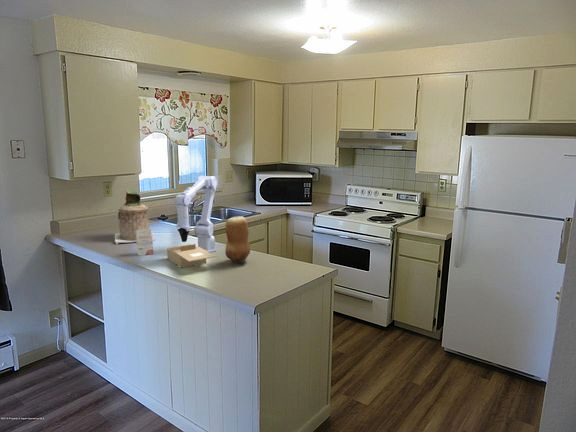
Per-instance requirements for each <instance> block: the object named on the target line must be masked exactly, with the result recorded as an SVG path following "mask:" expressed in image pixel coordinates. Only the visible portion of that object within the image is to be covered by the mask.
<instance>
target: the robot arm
mask: <svg viewBox="0 0 576 432" xmlns="http://www.w3.org/2000/svg"><path fill="white" fill-rule="evenodd" d="M217 185H218V179H217V177H216V176H215V175H213V176H210V175H199V176H198V177H197V179H196V181H195V183H194V184H193V185H192V186H187V187H186V189H185V190H184V191H183V192H181V194H177V195H176V196H175V198H174V204H175V207H176V211H177V223H176V225H175V227H176V228H177V231H178V234H179V236H180V239H181V242H182V243H186V242H187V241H188V236H189V233H190V232H191V231H192V228H191V226H190V225H191V224H190V220H189V219H190V217H189V206H190V204H191V201H192V199H194V197H196V195H197V191H199V190H202V191H203V192H204V198H203V202H202V203H203V204H202V210H201V215H200V219H199V220H197V221H196V224H195V226H194V229H193V230H194V235H195V236H196V237H197V247H200V248H202V249H204V250H206V251H208V252H210V253H213V252H216V250H217V249H216V239H215V236H214V235H213V234H214V224H213V222H212V221H211V215H212V210H213V205H214V199H215V194H216V190H217Z"/></svg>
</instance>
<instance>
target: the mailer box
mask: <svg viewBox="0 0 576 432" xmlns="http://www.w3.org/2000/svg"><path fill="white" fill-rule="evenodd" d="M186 245H187V244H184V245H177V246H172V247H167V248H166V255H167V257H166V258H168V259H167V260H169V261H170V260H171V261H170V262H172V263H173V262H174V263H173V264H175V265H176V264H177V265H178V267H179V266H180V267H184V268H187V267H186V266H189V267H193V266H192V265H195V266H199V264H200V265H204V264H203V263H205V264H207V259H202V260H197V261H192V262H188V261H187V260H185V259H183V258H182V257H180V256H179V255H177V254H176V253H174V252H173V251H177V250H181V246H186ZM189 245H192V244H191V243H190V244H189ZM177 265H176V266H177Z"/></svg>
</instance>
